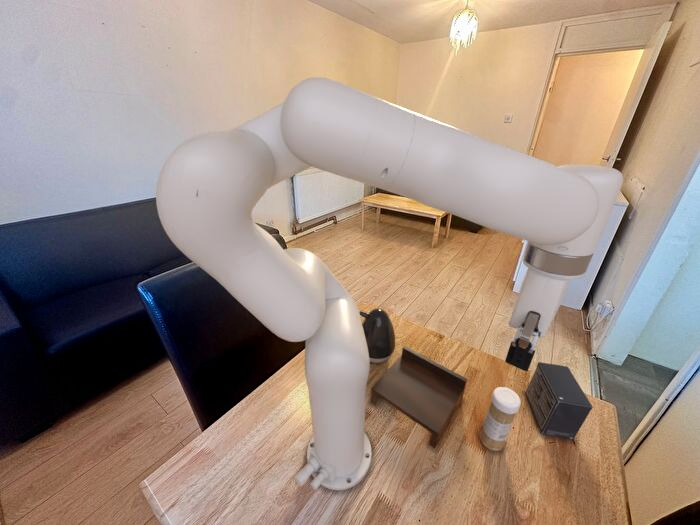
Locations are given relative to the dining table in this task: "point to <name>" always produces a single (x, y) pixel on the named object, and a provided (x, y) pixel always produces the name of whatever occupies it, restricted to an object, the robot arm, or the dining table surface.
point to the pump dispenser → (378, 335)
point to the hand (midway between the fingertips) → (523, 348)
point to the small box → (557, 401)
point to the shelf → (421, 391)
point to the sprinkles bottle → (499, 418)
